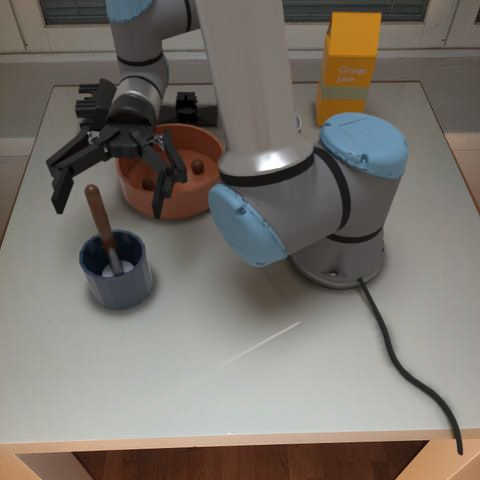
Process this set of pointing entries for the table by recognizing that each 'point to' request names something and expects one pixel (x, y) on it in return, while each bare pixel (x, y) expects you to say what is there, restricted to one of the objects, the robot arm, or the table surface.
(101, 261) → the crock
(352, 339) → the table surface
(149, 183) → the meatball
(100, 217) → the ladle
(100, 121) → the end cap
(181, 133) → the bowl
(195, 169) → the meatball
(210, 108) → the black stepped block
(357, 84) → the orange juice
